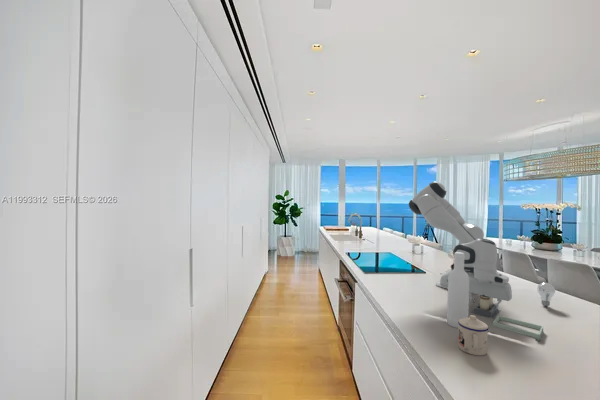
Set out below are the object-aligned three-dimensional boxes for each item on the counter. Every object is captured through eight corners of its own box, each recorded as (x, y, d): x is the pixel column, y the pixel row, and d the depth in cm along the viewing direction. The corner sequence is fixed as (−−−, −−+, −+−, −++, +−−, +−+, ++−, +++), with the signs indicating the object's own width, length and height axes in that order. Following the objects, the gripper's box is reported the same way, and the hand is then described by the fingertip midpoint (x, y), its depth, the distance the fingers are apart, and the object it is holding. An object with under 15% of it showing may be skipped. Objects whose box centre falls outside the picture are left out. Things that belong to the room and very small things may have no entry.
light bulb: (557, 309, 144) (558, 285, 144) (541, 308, 146) (542, 284, 146) (549, 304, 151) (549, 281, 151) (533, 303, 153) (534, 280, 153)
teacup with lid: (456, 341, 108) (457, 309, 108) (484, 346, 105) (485, 313, 105) (459, 356, 97) (460, 321, 97) (492, 363, 94) (493, 326, 94)
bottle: (442, 322, 125) (444, 251, 125) (456, 319, 128) (458, 250, 128) (458, 330, 118) (460, 254, 118) (472, 327, 121) (475, 254, 121)
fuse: (482, 309, 139) (483, 290, 139) (484, 307, 142) (485, 288, 141) (491, 311, 136) (492, 292, 136) (493, 309, 139) (494, 290, 139)
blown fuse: (478, 313, 134) (479, 293, 134) (480, 311, 137) (481, 291, 137) (487, 315, 131) (488, 295, 131) (489, 313, 134) (490, 293, 134)
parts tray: (492, 328, 120) (492, 322, 120) (498, 320, 128) (498, 315, 128) (539, 341, 110) (539, 334, 110) (543, 332, 118) (543, 326, 118)
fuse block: (470, 314, 135) (470, 306, 135) (479, 307, 145) (479, 300, 145) (493, 320, 128) (494, 312, 128) (501, 312, 138) (501, 305, 138)
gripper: (457, 271, 139) (456, 300, 139) (510, 280, 125) (509, 313, 125) (462, 269, 144) (461, 297, 144) (513, 278, 129) (512, 310, 129)
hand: (483, 305), depth 134 cm, fingers open, 8 cm apart
